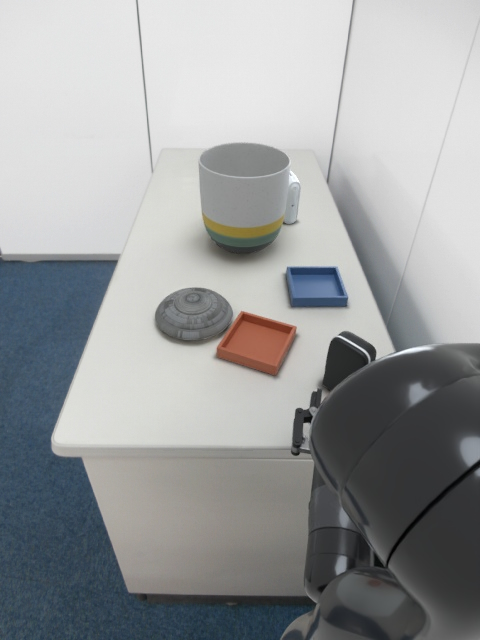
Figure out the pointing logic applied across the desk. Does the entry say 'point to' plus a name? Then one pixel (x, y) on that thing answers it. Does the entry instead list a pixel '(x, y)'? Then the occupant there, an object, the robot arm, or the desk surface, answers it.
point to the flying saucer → (193, 314)
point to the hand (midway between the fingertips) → (349, 397)
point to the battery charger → (346, 358)
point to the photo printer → (292, 199)
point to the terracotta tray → (257, 342)
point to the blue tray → (316, 286)
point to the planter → (243, 194)
